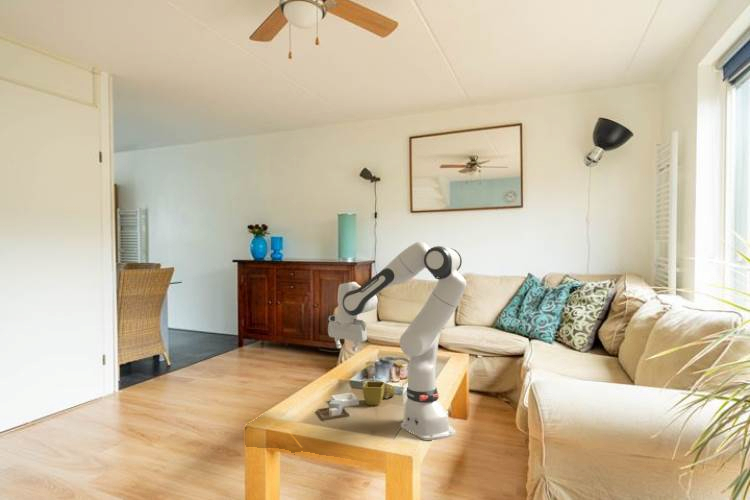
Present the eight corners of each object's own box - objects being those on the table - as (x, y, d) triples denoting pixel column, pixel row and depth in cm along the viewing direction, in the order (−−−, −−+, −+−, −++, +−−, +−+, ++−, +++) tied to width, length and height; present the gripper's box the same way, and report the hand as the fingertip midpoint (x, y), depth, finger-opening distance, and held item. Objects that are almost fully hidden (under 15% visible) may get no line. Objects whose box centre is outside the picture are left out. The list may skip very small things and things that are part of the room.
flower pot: (381, 408, 178) (381, 387, 178) (362, 407, 179) (362, 386, 180) (385, 401, 186) (385, 381, 187) (367, 400, 188) (366, 381, 188)
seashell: (385, 409, 188) (395, 397, 186) (373, 399, 188) (383, 387, 187) (388, 398, 197) (398, 387, 195) (377, 389, 198) (387, 377, 196)
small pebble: (338, 417, 167) (338, 409, 167) (331, 418, 165) (331, 411, 165) (335, 414, 169) (335, 407, 169) (329, 416, 168) (329, 408, 168)
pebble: (342, 411, 173) (342, 400, 174) (339, 414, 169) (338, 404, 169) (332, 410, 174) (332, 399, 175) (329, 414, 170) (328, 403, 170)
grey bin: (359, 405, 181) (358, 398, 181) (337, 409, 177) (337, 402, 177) (351, 398, 190) (351, 392, 190) (331, 402, 187) (331, 395, 187)
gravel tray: (349, 417, 167) (349, 413, 167) (323, 421, 163) (323, 418, 163) (341, 408, 177) (341, 405, 178) (317, 412, 173) (317, 409, 173)
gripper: (370, 319, 173) (369, 351, 173) (335, 315, 186) (335, 345, 186) (360, 321, 168) (360, 354, 168) (325, 316, 181) (325, 347, 181)
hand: (346, 349), depth 177 cm, fingers open, 8 cm apart
